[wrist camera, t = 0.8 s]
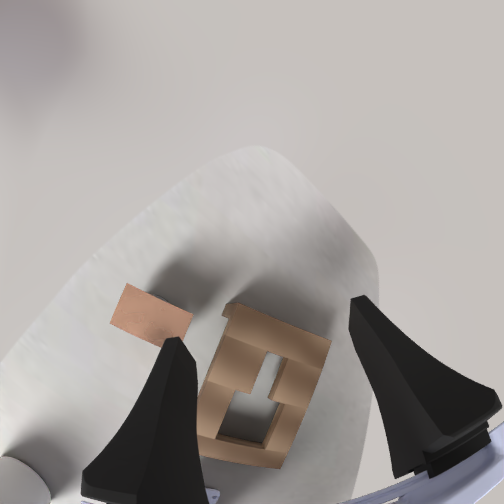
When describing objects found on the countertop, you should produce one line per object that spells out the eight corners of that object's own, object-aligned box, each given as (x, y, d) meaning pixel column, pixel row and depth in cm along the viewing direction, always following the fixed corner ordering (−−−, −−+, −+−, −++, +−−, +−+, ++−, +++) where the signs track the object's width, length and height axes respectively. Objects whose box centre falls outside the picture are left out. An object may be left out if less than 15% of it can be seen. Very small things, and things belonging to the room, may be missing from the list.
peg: (168, 347, 24) (174, 360, 18) (119, 324, 23) (107, 329, 16) (184, 308, 25) (196, 307, 19) (135, 285, 24) (129, 276, 18)
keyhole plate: (264, 453, 25) (280, 469, 21) (175, 431, 22) (179, 449, 19) (310, 338, 29) (331, 340, 26) (226, 304, 27) (238, 302, 23)
